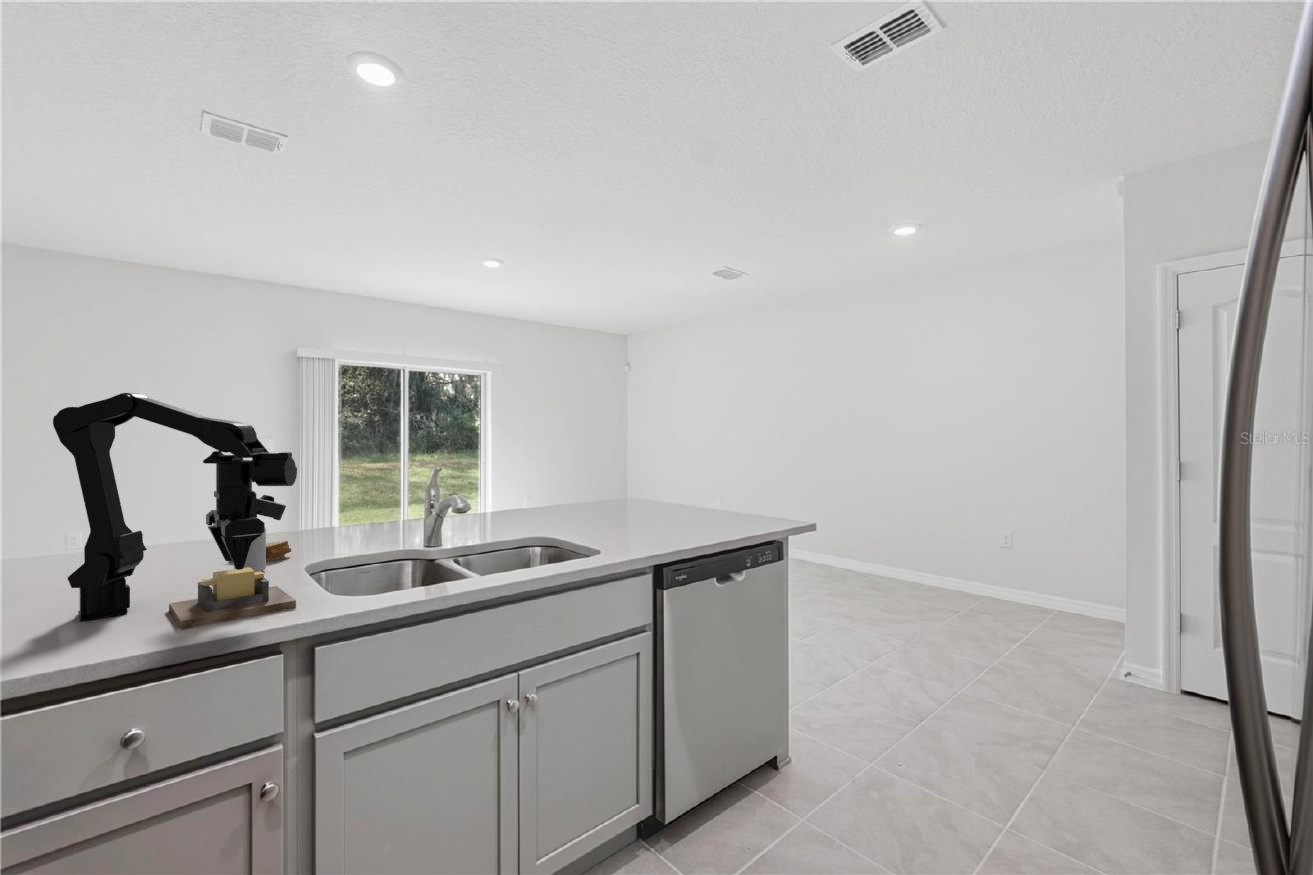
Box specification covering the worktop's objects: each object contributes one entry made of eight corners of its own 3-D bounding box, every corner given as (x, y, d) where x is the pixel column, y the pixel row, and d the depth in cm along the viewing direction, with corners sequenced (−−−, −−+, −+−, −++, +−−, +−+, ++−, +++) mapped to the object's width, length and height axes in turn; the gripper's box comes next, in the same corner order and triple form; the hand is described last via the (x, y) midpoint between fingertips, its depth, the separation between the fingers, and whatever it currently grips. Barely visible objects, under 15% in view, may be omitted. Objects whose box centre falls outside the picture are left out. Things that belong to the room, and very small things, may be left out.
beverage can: (249, 576, 138) (249, 526, 138) (227, 574, 139) (227, 525, 139) (272, 570, 144) (272, 522, 144) (250, 568, 146) (250, 520, 145)
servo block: (205, 609, 110) (205, 577, 110) (201, 604, 113) (201, 573, 113) (264, 599, 117) (265, 569, 117) (259, 594, 120) (260, 565, 120)
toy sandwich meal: (263, 552, 164) (263, 536, 164) (299, 557, 160) (299, 540, 159) (217, 562, 152) (217, 544, 152) (255, 567, 148) (255, 549, 148)
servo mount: (181, 629, 103) (181, 599, 103) (169, 611, 113) (169, 583, 113) (296, 607, 117) (296, 580, 116) (276, 592, 126) (276, 567, 126)
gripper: (295, 487, 114) (295, 567, 114) (269, 480, 127) (269, 551, 127) (225, 492, 106) (225, 577, 106) (205, 483, 118) (205, 559, 119)
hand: (234, 565), depth 115 cm, fingers open, 9 cm apart
